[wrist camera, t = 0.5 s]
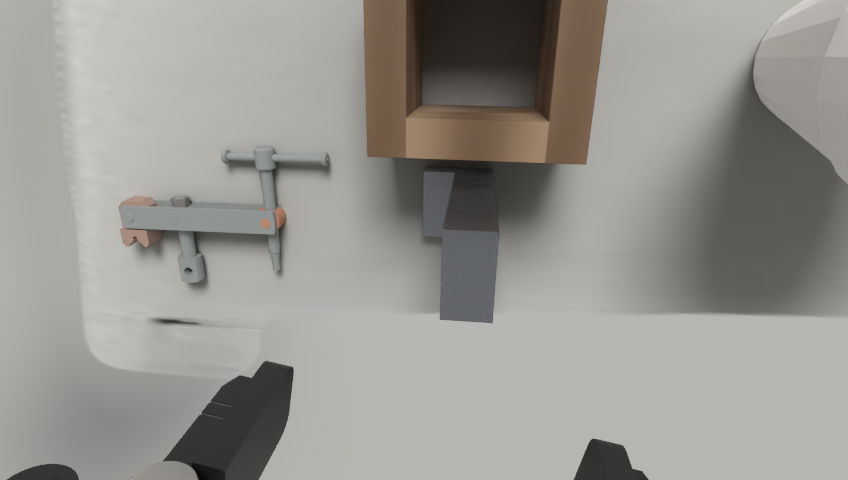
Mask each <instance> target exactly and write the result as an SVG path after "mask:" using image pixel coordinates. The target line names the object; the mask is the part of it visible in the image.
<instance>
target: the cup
mask: <svg viewBox="0 0 848 480" xmlns="http://www.w3.org/2000/svg"><path fill="white" fill-rule="evenodd" d="M753 79H754V86H755V90H756V92H757V94H758V96H759V98H760V100H761V102H762V103H763V104H764V105H765V106H766V107H767V108H768V109H769V110H770V111H771V112H772V113H773V114H775V115H776V116H777V117H778V118H779V119H781V120H782V121H783V122H784V123H785V124H787V125H788V126H789V127H790V128H791V129H793V130H794V131H795V132H796V133H798V134H799V135H800V136H801V137H802V138H804V139H805V140H806V141H807V142H808V143H810V144H811V145H812V146H813V147H815V148H816V149H817V150H818V151H819V152H821V153H822V154H823V155H824V156H825V157H827V158H828V159H829V160H830V161H831V162H832V165H833V167H834V169H835V171H836V173H837V174H838V175H839V176H840V177H841V178H842V179H843V180H844V181H845V182H846V183H847V184H848V0H804V1H802V2H801V3H799V4H798V5H796V6H794V7H793V8H791V9H790V10H788V11H786V12H785V13H784V14H783V15H782V16H781V17H780V18H779V19H778V20H777V21H776V22H775V23H774V24H773V25H772V26H771V27H770V29H769V30H768V32H767V33H766V35H765V36H764V38H763V39H762V41H761V43H760V45H759V48H758V51H757V53H756V56H755V60H754V68H753Z"/></svg>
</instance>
